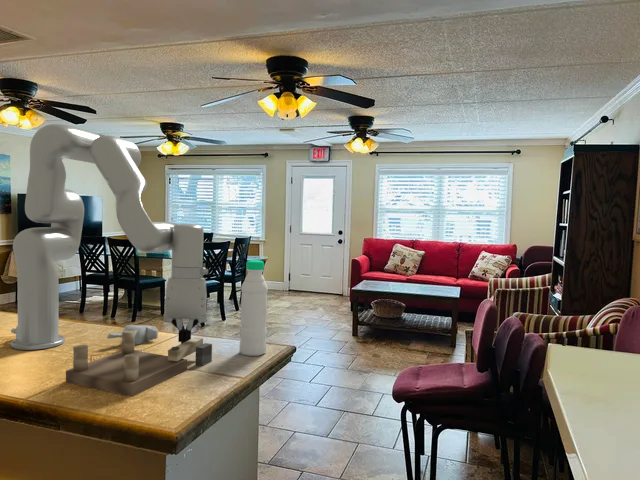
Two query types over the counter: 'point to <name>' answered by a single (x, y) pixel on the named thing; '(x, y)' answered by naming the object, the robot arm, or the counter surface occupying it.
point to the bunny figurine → (139, 333)
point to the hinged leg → (184, 349)
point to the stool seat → (128, 368)
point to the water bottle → (253, 310)
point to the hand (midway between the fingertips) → (184, 344)
